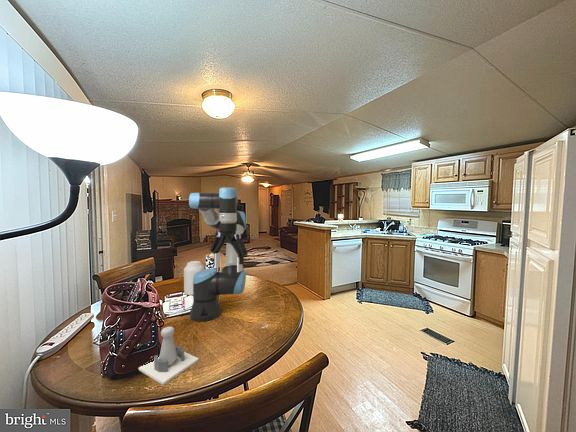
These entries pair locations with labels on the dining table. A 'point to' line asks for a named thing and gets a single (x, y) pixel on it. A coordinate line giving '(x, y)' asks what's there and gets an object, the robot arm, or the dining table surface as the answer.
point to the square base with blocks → (163, 372)
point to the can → (191, 275)
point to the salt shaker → (168, 346)
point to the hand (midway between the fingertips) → (228, 269)
